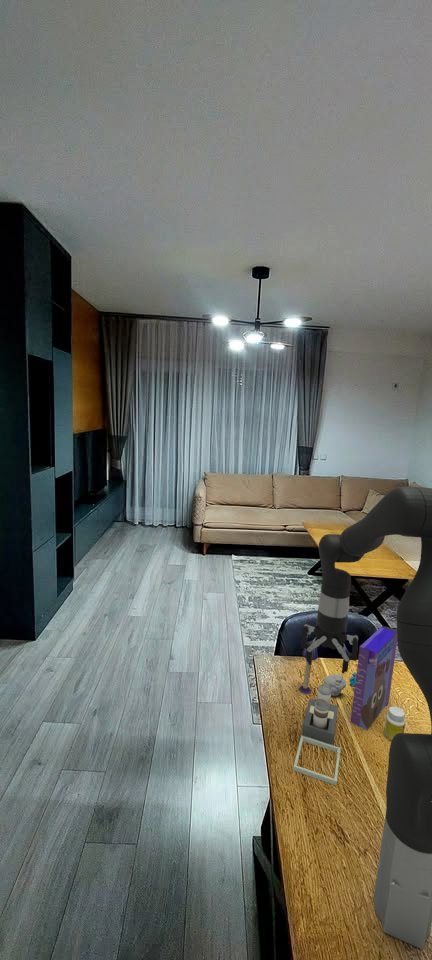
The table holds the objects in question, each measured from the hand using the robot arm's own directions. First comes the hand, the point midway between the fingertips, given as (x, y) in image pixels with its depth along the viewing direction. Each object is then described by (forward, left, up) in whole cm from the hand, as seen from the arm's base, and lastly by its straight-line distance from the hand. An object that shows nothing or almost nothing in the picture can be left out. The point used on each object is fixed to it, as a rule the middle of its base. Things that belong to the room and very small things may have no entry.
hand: (326, 667), depth 111 cm
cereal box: (+15, -13, -20) cm, 28 cm away
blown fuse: (0, 0, -19) cm, 19 cm away
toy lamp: (+16, +6, -20) cm, 27 cm away
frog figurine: (+19, -2, -20) cm, 28 cm away
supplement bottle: (+7, -19, -20) cm, 29 cm away
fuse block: (+3, 0, -20) cm, 20 cm away
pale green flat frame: (-10, -1, -20) cm, 22 cm away
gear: (+28, -10, -20) cm, 36 cm away
